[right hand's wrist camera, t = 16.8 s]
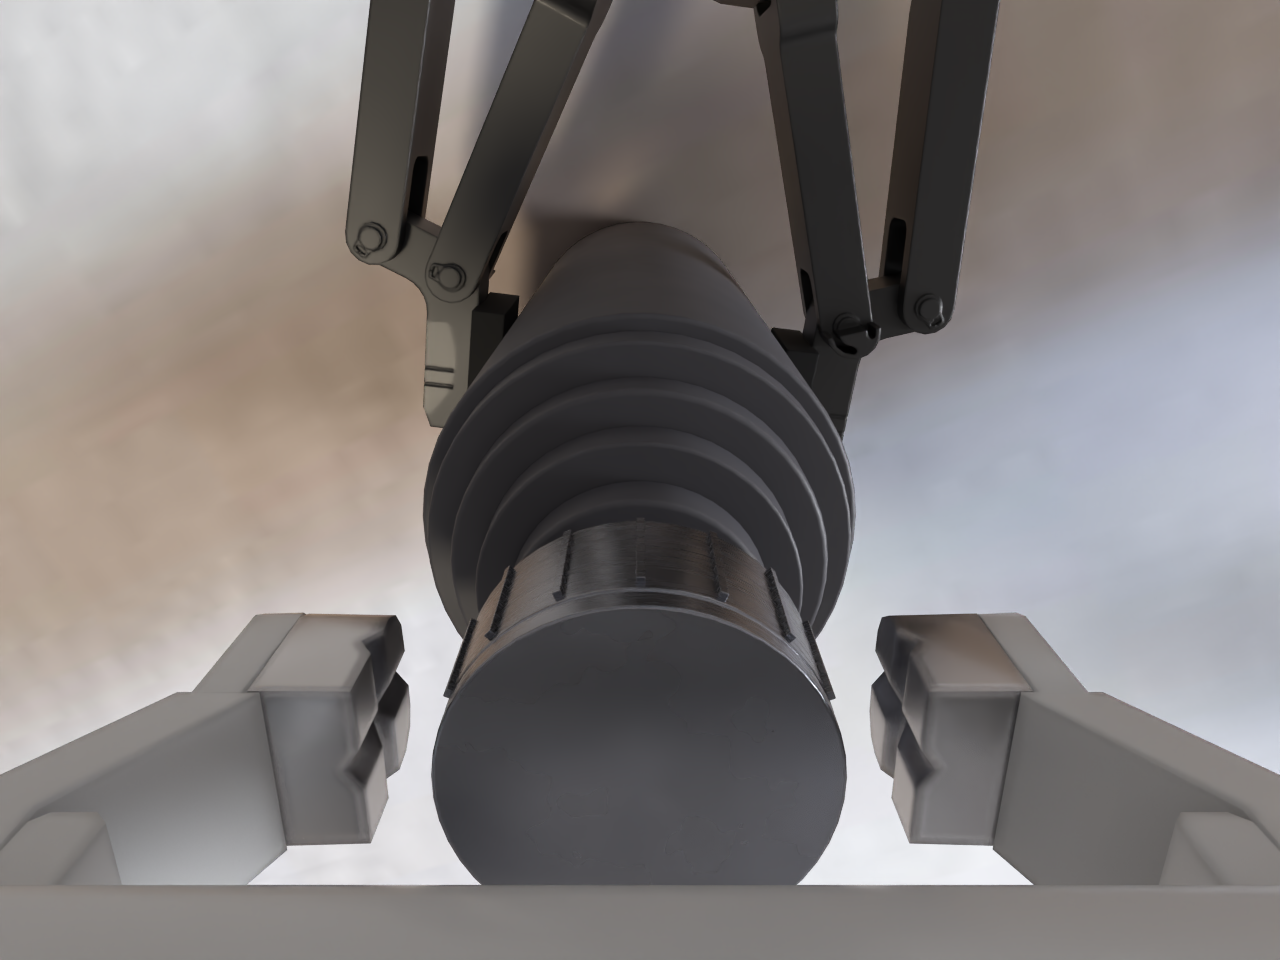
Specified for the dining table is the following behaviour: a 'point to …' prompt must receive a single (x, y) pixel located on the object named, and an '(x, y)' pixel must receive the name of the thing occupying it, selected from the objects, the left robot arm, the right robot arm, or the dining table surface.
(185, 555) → the dining table surface
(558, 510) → the bottle
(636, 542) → the cap
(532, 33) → the left robot arm
